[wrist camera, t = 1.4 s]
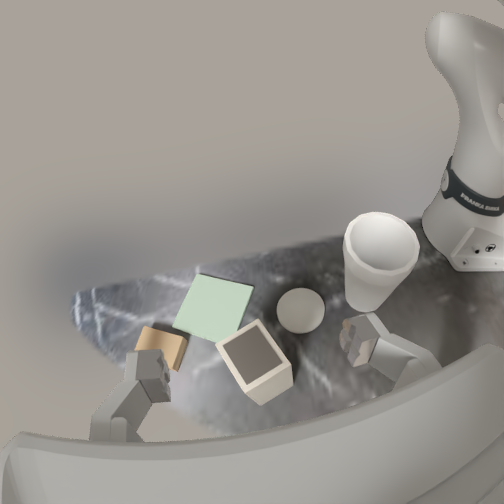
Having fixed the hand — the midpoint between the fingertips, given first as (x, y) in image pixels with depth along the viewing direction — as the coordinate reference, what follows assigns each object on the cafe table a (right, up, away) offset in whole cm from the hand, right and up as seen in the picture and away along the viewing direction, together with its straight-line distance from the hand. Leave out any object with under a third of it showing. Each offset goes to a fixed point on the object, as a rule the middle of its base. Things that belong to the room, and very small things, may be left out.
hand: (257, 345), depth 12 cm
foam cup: (+17, -2, +30) cm, 34 cm away
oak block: (-14, -11, +29) cm, 34 cm away
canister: (+2, -13, +25) cm, 28 cm away
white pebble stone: (+7, -5, +30) cm, 31 cm away
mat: (-6, -5, +32) cm, 33 cm away
